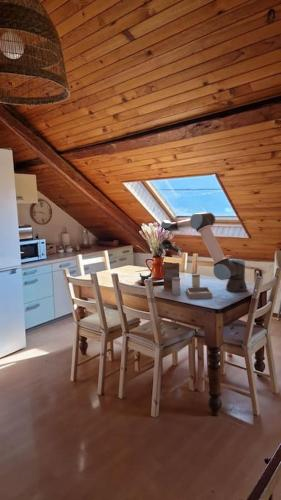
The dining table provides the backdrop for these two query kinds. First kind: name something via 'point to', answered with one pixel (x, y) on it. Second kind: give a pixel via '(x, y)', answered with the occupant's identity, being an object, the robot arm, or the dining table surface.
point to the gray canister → (176, 286)
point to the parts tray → (199, 292)
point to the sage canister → (195, 280)
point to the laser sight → (145, 278)
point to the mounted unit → (170, 274)
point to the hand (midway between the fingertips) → (173, 254)
